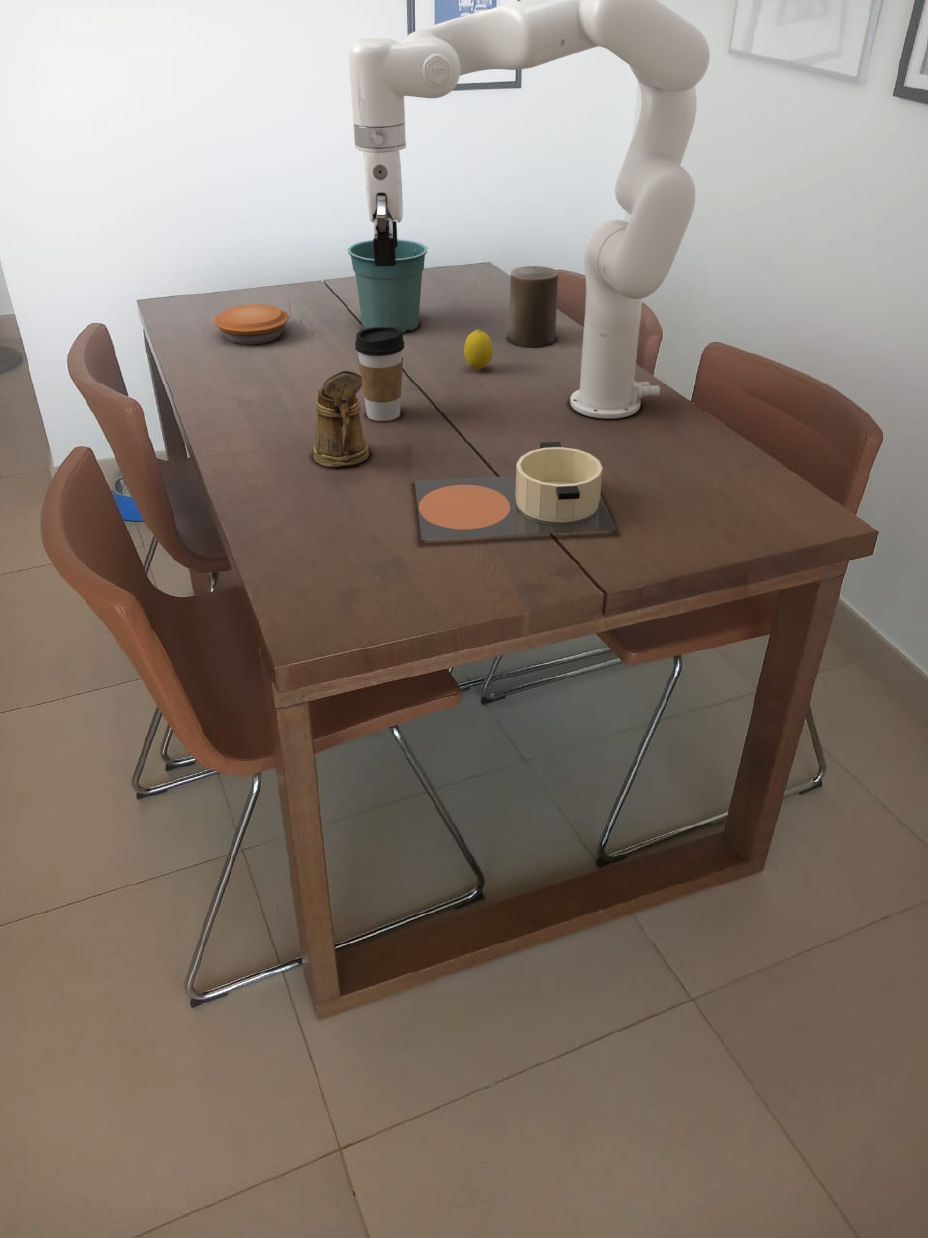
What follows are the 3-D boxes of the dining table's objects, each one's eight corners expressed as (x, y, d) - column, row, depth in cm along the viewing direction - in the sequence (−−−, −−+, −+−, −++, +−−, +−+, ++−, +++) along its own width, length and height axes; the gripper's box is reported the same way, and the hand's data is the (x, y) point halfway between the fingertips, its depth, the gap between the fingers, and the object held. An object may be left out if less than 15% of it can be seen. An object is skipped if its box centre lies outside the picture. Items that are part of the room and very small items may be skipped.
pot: (587, 474, 157) (590, 439, 153) (609, 527, 143) (613, 490, 140) (509, 478, 156) (510, 443, 152) (524, 531, 142) (525, 494, 139)
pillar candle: (541, 350, 202) (544, 275, 194) (500, 341, 207) (501, 267, 198) (563, 335, 209) (567, 263, 200) (523, 327, 213) (525, 255, 205)
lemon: (459, 372, 193) (459, 332, 188) (470, 363, 197) (470, 323, 192) (486, 377, 191) (486, 336, 186) (496, 366, 195) (497, 326, 190)
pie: (306, 330, 212) (303, 307, 209) (256, 353, 201) (253, 329, 198) (251, 317, 219) (248, 295, 216) (200, 339, 208) (197, 315, 205)
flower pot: (385, 307, 224) (382, 233, 214) (444, 322, 216) (443, 245, 207) (337, 328, 213) (331, 251, 204) (396, 344, 205) (393, 264, 196)
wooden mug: (324, 484, 156) (313, 374, 145) (309, 447, 166) (298, 342, 156) (379, 476, 158) (373, 367, 147) (361, 440, 168) (354, 336, 158)
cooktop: (590, 476, 158) (591, 471, 157) (615, 534, 143) (616, 529, 143) (414, 484, 156) (414, 480, 155) (421, 544, 141) (421, 539, 141)
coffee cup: (400, 426, 173) (397, 342, 164) (353, 422, 174) (347, 338, 166) (412, 406, 180) (409, 324, 171) (367, 403, 181) (362, 321, 172)
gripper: (404, 147, 139) (409, 272, 149) (406, 125, 153) (411, 240, 163) (350, 148, 139) (359, 273, 149) (357, 126, 153) (365, 241, 163)
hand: (386, 256), depth 156 cm, fingers open, 9 cm apart
